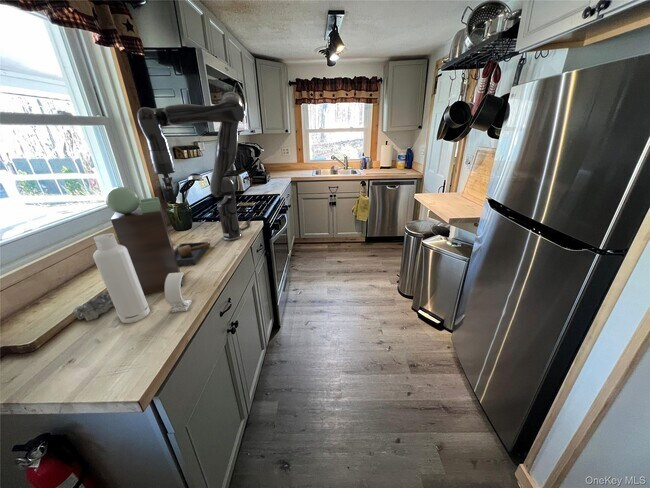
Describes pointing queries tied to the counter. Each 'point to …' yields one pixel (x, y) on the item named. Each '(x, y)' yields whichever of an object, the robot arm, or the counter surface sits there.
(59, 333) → the counter surface
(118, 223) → the stand
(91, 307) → the grey rock
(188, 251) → the wooden mallet
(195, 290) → the counter surface
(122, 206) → the flask
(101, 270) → the bottle
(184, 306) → the headphone stand
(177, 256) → the tray
